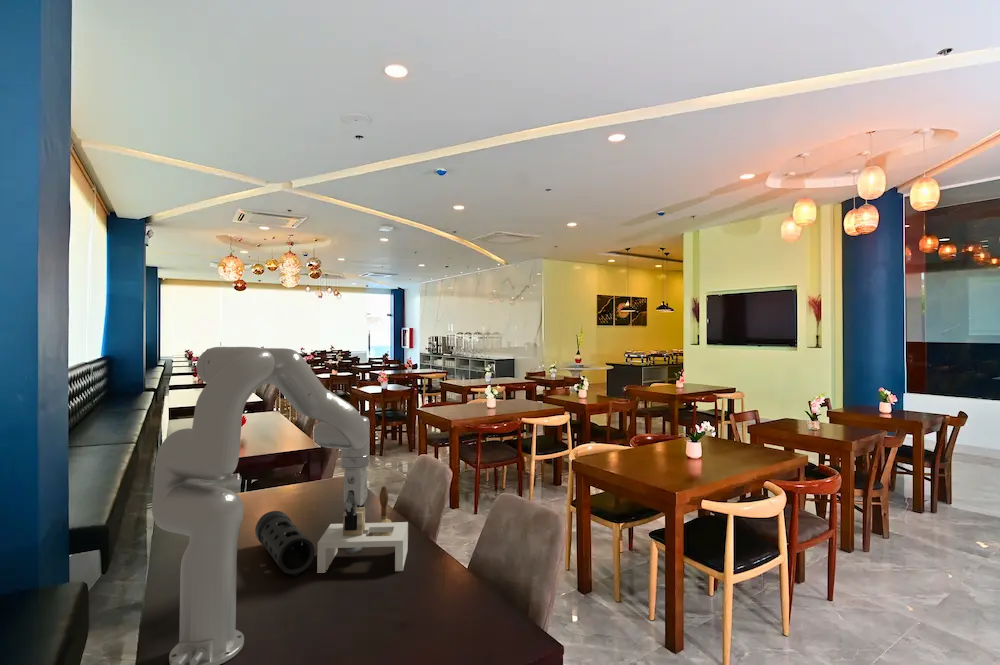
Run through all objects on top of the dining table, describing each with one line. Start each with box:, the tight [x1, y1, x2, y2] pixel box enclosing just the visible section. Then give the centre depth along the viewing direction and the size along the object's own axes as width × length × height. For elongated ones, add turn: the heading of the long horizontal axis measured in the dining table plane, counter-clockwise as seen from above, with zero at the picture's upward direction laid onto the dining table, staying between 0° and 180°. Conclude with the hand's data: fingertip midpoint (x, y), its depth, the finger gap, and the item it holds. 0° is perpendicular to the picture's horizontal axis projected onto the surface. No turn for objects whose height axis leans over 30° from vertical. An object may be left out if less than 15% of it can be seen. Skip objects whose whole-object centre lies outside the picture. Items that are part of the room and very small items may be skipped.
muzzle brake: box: [254, 510, 316, 577], centre depth 142 cm, size 10×28×10 cm, turn 37°
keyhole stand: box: [316, 521, 409, 574], centre depth 141 cm, size 14×22×8 cm, turn 95°
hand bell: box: [372, 485, 392, 536], centre depth 157 cm, size 8×8×16 cm
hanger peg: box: [342, 506, 366, 555], centre depth 141 cm, size 5×5×11 cm
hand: (354, 523), depth 141 cm, fingers open, 9 cm apart
